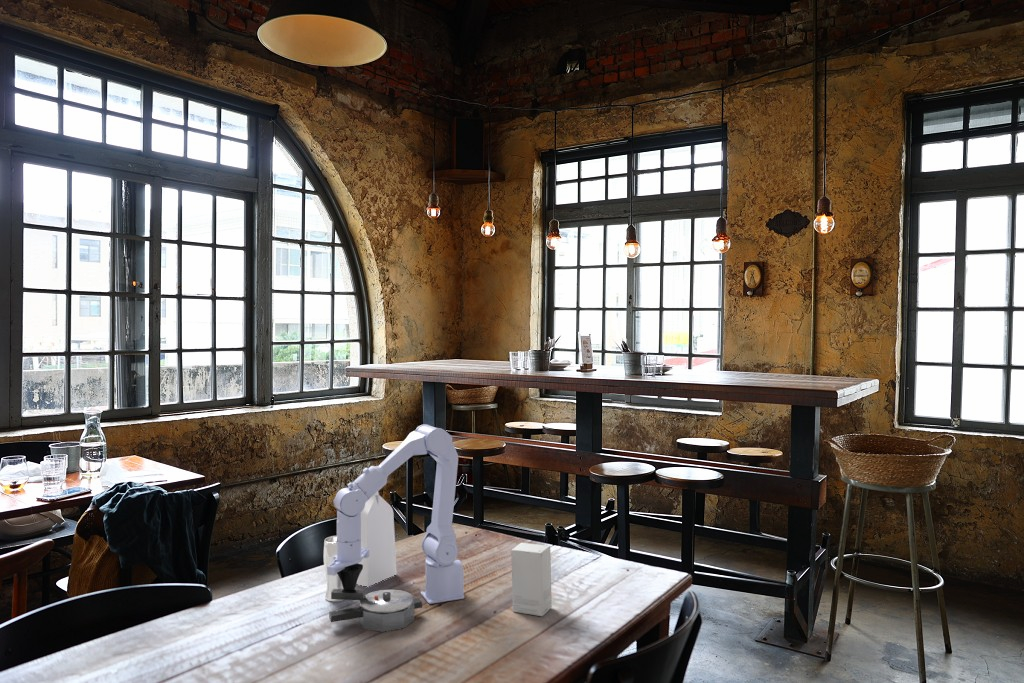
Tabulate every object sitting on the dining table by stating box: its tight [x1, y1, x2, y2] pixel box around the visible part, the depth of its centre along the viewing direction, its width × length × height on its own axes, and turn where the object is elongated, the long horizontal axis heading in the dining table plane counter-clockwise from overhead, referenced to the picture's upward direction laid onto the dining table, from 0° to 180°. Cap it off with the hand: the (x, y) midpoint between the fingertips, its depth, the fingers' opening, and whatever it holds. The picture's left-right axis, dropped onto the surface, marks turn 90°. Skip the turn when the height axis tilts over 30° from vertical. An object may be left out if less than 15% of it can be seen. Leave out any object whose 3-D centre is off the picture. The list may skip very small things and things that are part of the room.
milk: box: [356, 491, 398, 588], centre depth 196 cm, size 12×12×26 cm
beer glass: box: [323, 535, 345, 603], centre depth 181 cm, size 7×7×15 cm
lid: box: [331, 589, 414, 613], centre depth 167 cm, size 19×12×2 cm, turn 86°
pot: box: [328, 597, 423, 633], centre depth 166 cm, size 21×12×4 cm, turn 114°
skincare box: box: [510, 542, 553, 617], centre depth 174 cm, size 8×7×16 cm
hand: (349, 595), depth 170 cm, fingers closed
